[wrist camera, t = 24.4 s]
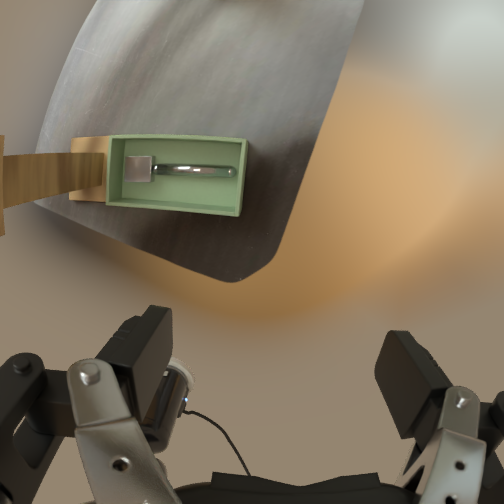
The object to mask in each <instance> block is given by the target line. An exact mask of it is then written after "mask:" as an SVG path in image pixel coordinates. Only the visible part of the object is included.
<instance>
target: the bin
mask: <svg viewBox="0 0 504 504" xmlns="http://www.w3.org/2000/svg"><path fill="white" fill-rule="evenodd" d="M248 143H249V142H248V141H247V139H241V138H229V137H214V136H196V135H162V134H135V135H109V145H108V158H107V176H106V205H109V206H123V207H137V208H150V209H162V210H173V211H185V212H195V213H206V214H216V215H226V216H235V217H239V215H240V213H241V210H242V200H243V191H244V181H245V171H246V162H247V152H248ZM129 156H156V158H155V164H157V163H177V164H210V165H230V166H233V167H235V169H236V175H235V176H234V177H232V178H223V177H203V176H175V175H156V174H155V181H154V182H150V183H148V182H124V170H125V157H129Z"/></svg>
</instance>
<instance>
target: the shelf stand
mask: <svg viewBox="0 0 504 504" xmlns="http://www.w3.org/2000/svg"><path fill="white" fill-rule="evenodd" d="M108 145H109V136H98V137H81V138H72V141H71V153H42V154H24V155H10V156H3V149H4V135H0V236H3V235H5V230H4V216H3V209H4V208H8V207H11V206H15V205H19V204H22V203H26V202H30V201H34V200H38V199H42V198H46V197H50V196H54V195H59V194H63V193H67V192H69V200H81V201H99V202H106V176H107V158H108Z"/></svg>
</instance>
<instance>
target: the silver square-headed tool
mask: <svg viewBox="0 0 504 504" xmlns="http://www.w3.org/2000/svg"><path fill="white" fill-rule="evenodd" d="M155 158H156V156H129V157H125V170H124V182H148V183H150V182H154V181H155V174H156V175H175V176H203V177H223V178H232V177H234V176H235V175H236V169H235V167H233V166H230V165H210V164H177V163H157V164H155Z"/></svg>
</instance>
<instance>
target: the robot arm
mask: <svg viewBox="0 0 504 504" xmlns="http://www.w3.org/2000/svg"><path fill="white" fill-rule="evenodd" d="M172 348H173V338H172V310H171V309H170V308H167V307H161V306H155V305H150V306H149V307H148V309H147V310H146V311H145V313H144V314H143V315H142V316H141V317H140V316H134V317H132V318H130V319H128V320H126V321H124V323H123V324H122V325H121V326H120V327H119V329H118V331H116V332H115V334H114V335H113V337H111V338H110V340H109V341H108V342H107V344H106V345H105V346H104V347H103V348H102V350H101V351H100V352H99V353H98V355H97V356H96V357H95V358H94V359H92V358H91V359H83V360H80V361H77V362H75V363H74V364H72V365H71V366H70V367H69V369H68V371H59V370H49V369H45V367H44V364H43V361H42V359H41V358H40V357H39V356H38V355H36V354H32V353H19V354H16V355H14V356H12V357H10V358H9V359H8V360H7V361H6V362H5V363H4V364H3V365H2V366H1V367H0V504H32V501H33V499H34V497H35V495H36V493H37V491H38V488H39V486H40V484H41V482H42V480H43V478H44V476H45V474H46V471H47V470H48V468H49V466H50V464H51V462H52V460H53V458H54V456H55V454H56V452H57V450H58V448H59V446H60V444H61V443H62V441H63V439H64V437H75V438H76V442H77V446H78V449H79V453H80V457H81V460H82V463H83V467H84V470H85V473H86V476H87V479H88V482H89V485H90V488H91V491H92V493H93V496H94V499H95V500H94V501H89V502H85V503H81V504H504V469H503V467H502V465H501V463H500V461H499V459H498V457H497V455H496V453H495V450H496V448H497V447H498V446H499V445H500V443H501V442H502V441H503V440H504V391H502V392H499V393H498V395H497V396H496V398H495V399H494V401H493V403H485V402H480V400H479V398H478V396H477V395H476V394H475V393H474V392H473V391H471V390H470V389H468V388H465V387H462V386H453V384H452V383H451V382H450V381H449V379H448V378H447V376H446V375H445V373H444V372H443V371H442V369H441V368H440V367H438V364H437V362H436V361H435V360H433V357H432V356H431V354H430V353H429V352H428V350H426V349H425V348H423V347H422V346H421V345H420V344H418V343H417V342H416V340H415V339H414V338H413V336H412V335H411V334H410V332H408V331H396V330H395V331H394V330H391V331H389V332H388V333H387V335H386V337H385V340H384V343H383V346H382V348H381V351H380V354H379V356H378V359H377V362H376V365H375V379H376V381H377V383H378V386H379V388H380V390H381V392H382V395H383V397H384V399H385V401H386V403H387V406H388V408H389V411H390V413H391V415H392V418H393V420H394V423H395V425H396V427H397V429H398V432H399V434H400V437H401V439H407V438H413V437H414V438H415V440H416V441H415V442H414V443H413V445H412V447H411V449H410V451H409V453H408V456H407V458H406V460H405V463H404V465H403V467H402V470H401V472H400V474H399V476H398V478H397V480H396V482H395V484H394V485H392V484H386V483H380V480H379V477H378V473H377V472H376V473H368V474H360V475H351V476H340V477H337V478H333V479H330V480H326V481H323V482H318V483H314V484H310V485H306V486H294V485H290V484H285V483H281V482H276V481H272V480H268V479H264V478H260V477H256V476H251V475H250V473H249V471H248V469H247V467H246V465H245V463H244V461H243V460H242V458H241V456H240V454H239V452H238V451H237V449H236V447H235V446H234V444H233V443H232V441H231V440H230V438H229V436H228V435H227V433H226V432H225V431H224V430H223V429H222V428H221V427H220V426H219V425H218V424H216V423H215V422H213V421H212V420H211V419H209V418H208V417H206V416H204V415H202V414H200V413H198V412H195V411H189V412H188V411H185V407H186V402H185V401H187V395H188V392H189V388H188V379H187V377H186V375H185V374H184V373H183V372H182V371H181V370H180V369H178V368H176V367H174V366H172V365H168V364H169V361H170V359H171V355H172ZM182 412H183V413H185V414H188V415H189V414H195V415H197V416H199V417H202V418H204V419H205V420H207V421H209V422H210V423H212V424H213V425H215V426H216V427H217V428H218V429H219V430H221V431H222V433H223V434H224V435H225V437H226V439H227V440H228V442H229V443H230V445H231V446H232V448H233V449H234V451H235V453H236V454H237V456H238V458H239V460H240V461H241V463H242V465H243V467H244V469H245V471H246V473H247V474H248V476H246V475H236V474H227V473H219V472H213V473H212V480H211V482H202V483H195V484H190V485H185V486H182V487H178V488H176V489H173V488H172V486H171V484H170V483H169V481H168V479H167V469H166V466H165V465H164V463H163V462H162V461H161V460H159V459H157V458H155V456H154V454H157V453H161V452H163V451H164V450H166V448H167V447H168V445H169V441H170V438H171V435H172V432H173V428H174V425H175V422H176V419H177V418H179V417H181V414H182ZM24 416H25V419H24V421H23V422H22V424H21V425H20V427H19V428H18V430H17V431H16V433H15V434H14V436H13V433H14V430H15V429H16V427H17V426H18V424H19V423H20V421H21V420H22V418H23V417H24Z"/></svg>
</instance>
